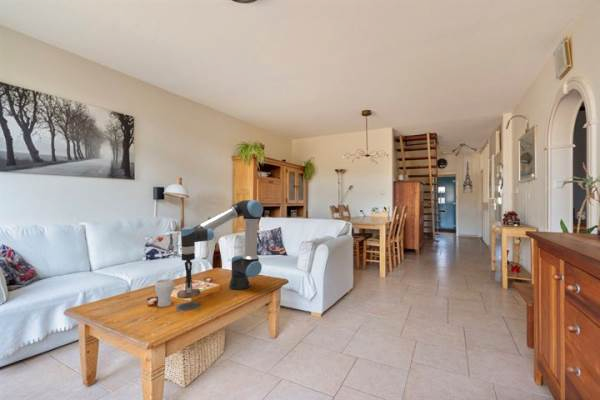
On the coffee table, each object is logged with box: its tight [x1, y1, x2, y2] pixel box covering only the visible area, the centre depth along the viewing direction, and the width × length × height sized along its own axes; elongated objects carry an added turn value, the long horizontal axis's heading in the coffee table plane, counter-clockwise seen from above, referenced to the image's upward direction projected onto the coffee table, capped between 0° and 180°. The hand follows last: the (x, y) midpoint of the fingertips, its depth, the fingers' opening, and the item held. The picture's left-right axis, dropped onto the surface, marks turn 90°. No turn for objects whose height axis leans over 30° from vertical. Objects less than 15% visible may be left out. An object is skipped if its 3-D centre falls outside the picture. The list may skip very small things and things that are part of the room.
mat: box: [176, 301, 200, 312], centre depth 170 cm, size 12×12×1 cm
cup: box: [154, 278, 175, 308], centre depth 173 cm, size 11×11×15 cm
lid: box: [176, 279, 201, 300], centre depth 170 cm, size 13×13×8 cm
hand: (188, 291), depth 170 cm, fingers closed on lid, 3 cm apart
